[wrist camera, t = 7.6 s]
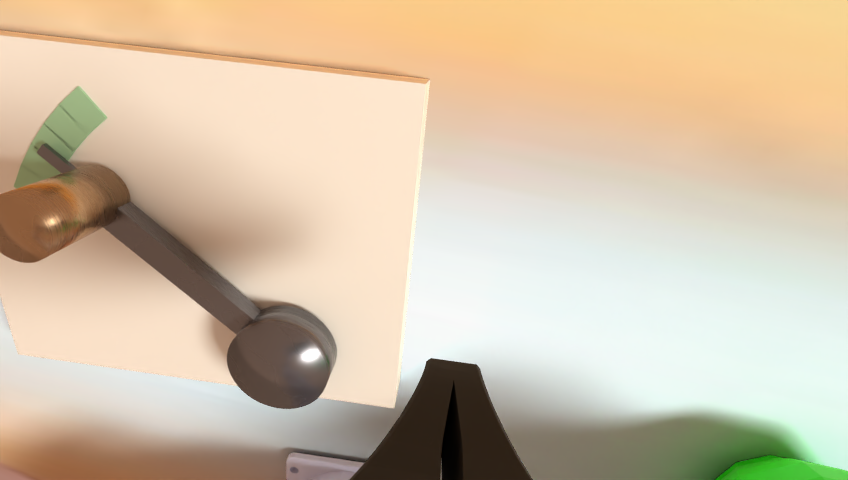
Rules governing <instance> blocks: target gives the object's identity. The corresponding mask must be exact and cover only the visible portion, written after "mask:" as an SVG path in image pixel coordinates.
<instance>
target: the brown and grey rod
mask: <svg viewBox="0 0 848 480" xmlns="http://www.w3.org/2000/svg"><path fill="white" fill-rule="evenodd" d="M37 154H38V155H40V156H41V157H42V158H43V159H45V160H46V161H47V162H48V163H49V164H51V165H52V166H53V167H54V168H56V169H57V170H58V171H59V172H61V173H62V174H59V175H56V176H53V177H50V178H47V179H44V180H41V181H38V182H35V183H32V184H29V185H26V186H23V187H20V188H17V189H14V190H11V191H8V192H5V193H2V194H0V253H2V254H3V255H5V256H6V257H8V258H10V259H12V260H15V261H18V262H22V263H34V262H38V261H40V260H42V259H44V258H46V257H48V256H50V255H52V254H54V253H55V252H57V251H59V250H61V249H63V248H65V247H67V246H69V245H71V244H73V243H75V242H77V241H78V240H80V239H82V238H84V237H86V236H88V235H90V234H92V233H94V232H96V231H98V230H100V229H101V228H104V229H105V230H107V231H108V232H109V233H110V234H112V235H113V236H114V237H115V238H117V239H118V240H119V241H120V242H122V243H123V244H124V245H125V246H127V247H128V248H129V249H130V250H132V251H133V252H134V253H135V254H137V255H138V256H139V257H140V258H142V259H143V260H144V261H145V262H147V263H148V264H149V265H150V266H152V267H153V268H154V269H155V270H157V271H158V272H159V273H160V274H162V275H163V276H164V277H165V278H167V279H168V280H169V281H170V282H172V283H173V284H174V285H175V286H177V287H178V288H179V289H180V290H182V291H183V292H184V293H185V294H186V295H188V296H189V297H190V298H191V299H193V300H194V301H195V302H196V303H198V304H199V305H200V306H201V307H203V308H204V309H205V310H206V311H208V312H209V313H210V314H211V315H213V316H214V317H215V318H216V319H218V320H219V321H220V322H221V323H223V324H224V325H225V326H226V327H228V328H229V329H230V330H231V331H233V332H234V333H235V334H236V336H235V338H234V339H233V340H232V342H231V344H230V346H229V348H228V352H227V366H228V369H229V372H230V374H231V377H232V378H233V380H234V382H235V383H236V384H237V385H238V387H239V388H240V389H241V390H242V391H243V392H244V393H246V394H247V395H248V396H250V397H251V398H253V399H254V400H256V401H258V402H260V403H262V404H265V405H268V406H271V407H276V408H283V409H291V408H298V407H302V406H305V405H308V404H310V403H312V402H313V401H315V400H316V399H317V398H318V397H319V396H320V395H321V394H322V393H323V391H324V389H325V387H326V385H327V382H328V380H329V377H330V375H331V373H332V370H333V368H334V365H335V362H336V358H337V347H336V343H335V340H334V338H333V335H332V334H331V332H330V330H329V329H328V328H327V327H326V325H325V324H324V323H323V322H322V321H321V320H319V319H318V318H317V317H315V316H314V315H312V314H311V313H309V312H307V311H304V310H302V309H299V308H296V307H291V306H271V307H267V308H264V309H262V310H261V309H260V308H258V307H257V306H256V305H255V304H254V303H252V302H251V301H250V300H249V299H248V298H246V297H245V296H244V295H243V294H242V293H240V292H239V291H238V290H237V289H236V288H234V287H233V286H232V285H231V284H230V283H228V282H227V281H226V280H225V279H224V278H222V277H221V276H220V275H219V274H218V273H216V272H215V271H214V270H213V269H212V268H210V267H209V266H208V265H207V264H205V263H204V262H203V261H202V260H201V259H199V258H198V257H197V256H196V255H195V254H193V253H192V252H191V251H190V250H189V249H187V248H186V247H185V246H184V245H183V244H181V243H180V242H179V241H178V240H177V239H175V238H174V237H173V236H172V235H171V234H169V233H168V232H167V231H166V230H165V229H163V228H162V227H161V226H160V225H159V224H157V223H156V222H155V221H154V220H152V219H151V218H150V217H149V216H148V215H146V214H145V213H144V212H143V211H142V210H140V209H139V208H138V207H137V206H136V205H134V204H133V203H132V202H131V198H130V193H129V190H128V188H127V186H126V184H125V183H124V181H123V180H122V179H121V178H120V176H118V175H117V174H116V173H115V172H114V171H112V170H111V169H109V168H107V167H104V166H102V165H97V164H90V165H85V166H82V167H79V168H76V167H75V166H74V165H72V164H71V163H70V162H69V161H67V160H66V159H65V158H64V157H63V156H61V155H60V154H59V153H58V152H57V151H55V150H54V149H53V148H52V147H50V146H49V145H48V144H47V143H45V144H42V145H41V147H40V148H39V150H38V151H37Z"/></svg>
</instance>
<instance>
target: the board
mask: <svg viewBox="0 0 848 480" xmlns="http://www.w3.org/2000/svg"><path fill="white" fill-rule="evenodd" d="M429 85H430V79H424V78H415V77H406V76H398V75H389V74H380V73H371V72H363V71H354V70H345V69H336V68H328V67H319V66H310V65H301V64H292V63H284V62H275V61H266V60H257V59H249V58H240V57H231V56H222V55H214V54H205V53H196V52H187V51H178V50H170V49H161V48H152V47H143V46H135V45H126V44H117V43H108V42H99V41H91V40H82V39H73V38H64V37H56V36H47V35H38V34H29V33H21V32H12V31H3V30H0V194H2V193H5V192H8V191H11V190H14V189H17V188H20V187H23V186H26V185H29V184H32V183H35V182H38V181H41V180H44V179H47V178H50V177H53V176H56V175H59V174H62V173H61V172H59V171H58V170H57V169H56V168H54V167H53V166H52V165H51V164H49V163H48V162H47V161H46V160H45V159H43V158H42V157H41V156H40V155H38V154H37V151H38V150H39V148H40V147H41V145H42V144H45V143H47V144H48V145H49V146H50V147H52V148H53V149H54V150H55V151H57V152H58V153H59V154H60V155H61V156H63V157H64V158H65V159H66V160H67V161H69V162H70V163H71V164H72V165H74V166H75V167H76V168H79V167H82V166H85V165H90V164H97V165H102V166H104V167H107V168H109V169H111V170H112V171H114V172H115V173H116V174H117V175H118V176H120V178H121V179H122V180H123V181H124V183H125V184H126V186H127V188H128V190H129V193H130V198H131V202H132V203H133V204H134V205H136V206H137V207H138V208H139V209H140V210H142V211H143V212H144V213H145V214H146V215H148V216H149V217H150V218H151V219H152V220H154V221H155V222H156V223H157V224H159V225H160V226H161V227H162V228H163V229H165V230H166V231H167V232H168V233H169V234H171V235H172V236H173V237H174V238H175V239H177V240H178V241H179V242H180V243H181V244H183V245H184V246H185V247H186V248H187V249H189V250H190V251H191V252H192V253H193V254H195V255H196V256H197V257H198V258H199V259H201V260H202V261H203V262H204V263H205V264H207V265H208V266H209V267H210V268H212V269H213V270H214V271H215V272H216V273H218V274H219V275H220V276H221V277H222V278H224V279H225V280H226V281H227V282H228V283H230V284H231V285H232V286H233V287H234V288H236V289H237V290H238V291H239V292H240V293H242V294H243V295H244V296H245V297H246V298H248V299H249V300H250V301H251V302H252V303H254V304H255V305H256V306H257V307H258V308H260V309H261V310H262V309H264V308H267V307H271V306H291V307H296V308H299V309H302V310H304V311H307V312H309V313H311V314H312V315H314V316H315V317H317V318H318V319H319V320H321V321H322V322H323V323H324V324H325V325H326V327H327V328H328V329H329V330H330V332H331V334H332V335H333V338H334V340H335V343H336V347H337V358H336V362H335V365H334V368H333V370H332V373H331V375H330V377H329V380H328V382H327V385H326V387H325V389H324V391H323V393H322V394H321V395H320V396H319V397H318V398H325V399H332V400H339V401H346V402H353V403H359V404H366V405H373V406H380V407H387V408H394V407H395V402H396V397H397V392H398V387H399V383H400V375H401V365H402V355H403V345H404V335H405V325H406V315H407V305H408V295H409V285H410V275H411V265H412V255H413V245H414V235H415V225H416V215H417V205H418V195H419V185H420V175H421V165H422V155H423V145H424V135H425V125H426V115H427V105H428V95H429ZM0 297H1V300H2V303H3V307H4V310H5V313H6V316H7V320H8V323H9V326H10V329H11V333H12V336H13V339H14V342H15V346H16V349H17V352H18V354H20V355H27V356H34V357H41V358H48V359H55V360H62V361H69V362H76V363H82V364H89V365H96V366H103V367H110V368H117V369H124V370H131V371H138V372H145V373H152V374H159V375H166V376H172V377H179V378H186V379H193V380H200V381H207V382H214V383H221V384H228V385H235V386H238V385H237V384H236V383H235V382H234V380H233V378H232V377H231V374H230V372H229V369H228V366H227V352H228V348H229V346H230V344H231V342H232V340H233V339H234V338H235V336H236V334H235V333H234V332H233V331H231V330H230V329H229V328H228V327H226V326H225V325H224V324H223V323H221V322H220V321H219V320H218V319H216V318H215V317H214V316H213V315H211V314H210V313H209V312H208V311H206V310H205V309H204V308H203V307H201V306H200V305H199V304H198V303H196V302H195V301H194V300H193V299H191V298H190V297H189V296H188V295H186V294H185V293H184V292H183V291H182V290H180V289H179V288H178V287H177V286H175V285H174V284H173V283H172V282H170V281H169V280H168V279H167V278H165V277H164V276H163V275H162V274H160V273H159V272H158V271H157V270H155V269H154V268H153V267H152V266H150V265H149V264H148V263H147V262H145V261H144V260H143V259H142V258H140V257H139V256H138V255H137V254H135V253H134V252H133V251H132V250H130V249H129V248H128V247H127V246H125V245H124V244H123V243H122V242H120V241H119V240H118V239H117V238H115V237H114V236H113V235H112V234H110V233H109V232H108V231H107V230H105V229H104V228H101V229H100V230H98V231H96V232H94V233H92V234H90V235H88V236H86V237H84V238H82V239H80V240H78V241H77V242H75V243H73V244H71V245H69V246H67V247H65V248H63V249H61V250H59V251H57V252H55V253H54V254H52V255H50V256H48V257H46V258H44V259H42V260H40V261H38V262H34V263H22V262H18V261H15V260H12V259H10V258H8V257H6V256H5V255H3V254H2V253H0Z"/></svg>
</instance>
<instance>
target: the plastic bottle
mask: <svg viewBox="0 0 848 480" xmlns="http://www.w3.org/2000/svg"><path fill="white" fill-rule="evenodd" d="M715 480H848V471H845V470H842V469H837V468H833V467H828V466H824V465H819V464H815V463H810V462H806V461H801V460H797V459H792V458H782V457H777V456H772V455H768V456H763V457H759V458H754V459H750V460H745V461H741V462H736V463H735V464H734V465H732V466H731V467H730V468H729V469H728V470H726V471H725V472H724V473H723V474H721V475H720V476H719V477H718V478H716V479H715Z"/></svg>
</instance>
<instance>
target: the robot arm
mask: <svg viewBox="0 0 848 480" xmlns="http://www.w3.org/2000/svg"><path fill="white" fill-rule="evenodd" d="M441 457H442V480H533V479H532V478H531V476H530V475H529V473H528V471H527V470H526V468H525V467H524V465H523V463H522V462H521V460H520V458H519V456H518V455H517V453H516V451H515V449H514V447H513V446H512V444H511V442H510V440H509V438H508V436H507V434H506V432H505V430H504V428H503V426H502V424H501V422H500V420H499V418H498V416H497V413H496V411H495V409H494V407H493V404H492V402H491V400H490V397H489V395H488V392H487V389H486V387H485V384H484V381H483V378H482V374H481V371H480V368H479V367H478V366H477V365H476V364H468V363H461V362H454V361H447V360H440V359H433V358H431V359H429V360H428V361H426V366H425V369H424V372H423V375H422V377H421V379H420V381H419V383H418V386H417V388H416V390H415V392H414V393H413V395H412V397H411V399H410V400H409V402H408V404H407V405H406V407H405V409H404V411H403V412H402V414H401V415H400V417H399V418H398V420H397V421H396V423H395V424H394V426H393V427H392V428H391V430H390V431H389V433H388V434H387V436H386V437H385V438H384V440H383V441H382V442H381V444H380V445H379V446H378V447H377V449H376V450H375V451H374V452H373V453H372V455H371V456H370V457H369V458H368V460H367V461H366V462H365V463H362V462H356V461H349V460H342V459H336V458H329V457H322V456H316V455H309V454H302V453H291V454H289V455H288V457H287V460H286V480H440V471H441Z"/></svg>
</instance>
